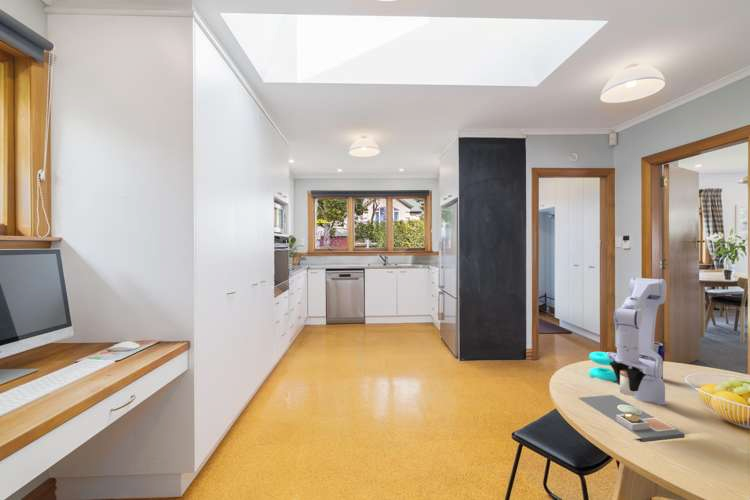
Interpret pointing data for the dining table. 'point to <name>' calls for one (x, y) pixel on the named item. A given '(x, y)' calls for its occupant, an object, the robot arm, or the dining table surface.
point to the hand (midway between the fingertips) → (627, 387)
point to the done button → (632, 417)
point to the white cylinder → (625, 383)
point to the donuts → (599, 371)
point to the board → (645, 429)
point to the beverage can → (658, 351)
